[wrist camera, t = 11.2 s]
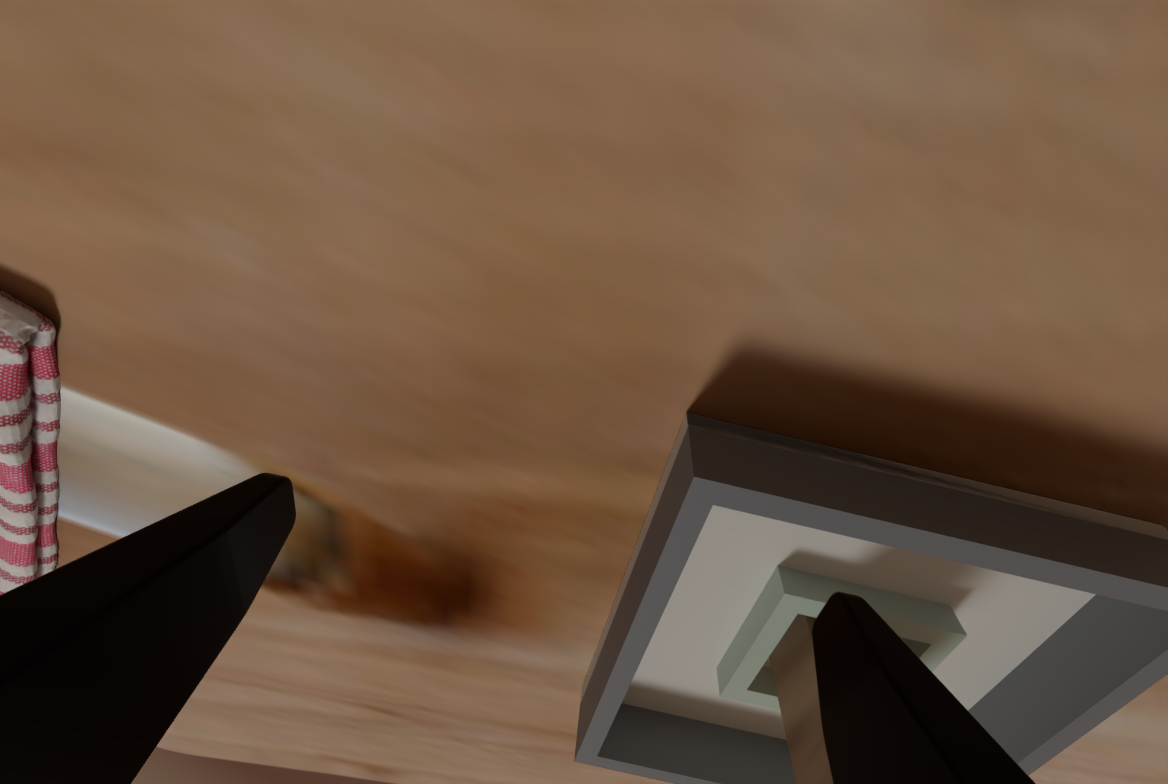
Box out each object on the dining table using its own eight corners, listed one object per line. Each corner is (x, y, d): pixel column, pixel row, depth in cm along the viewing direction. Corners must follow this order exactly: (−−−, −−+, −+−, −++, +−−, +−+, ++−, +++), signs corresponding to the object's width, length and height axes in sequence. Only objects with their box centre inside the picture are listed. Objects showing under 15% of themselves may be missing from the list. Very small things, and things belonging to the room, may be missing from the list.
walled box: (1161, 524, 22) (1257, 608, 18) (906, 759, 32) (937, 841, 29) (686, 412, 21) (694, 476, 18) (581, 687, 32) (574, 761, 28)
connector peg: (884, 622, 25) (975, 830, 18) (845, 671, 27) (912, 874, 20) (801, 603, 25) (861, 805, 18) (768, 653, 27) (810, 851, 20)
